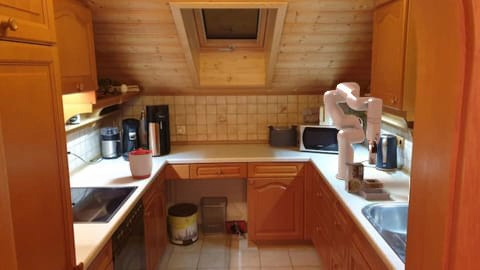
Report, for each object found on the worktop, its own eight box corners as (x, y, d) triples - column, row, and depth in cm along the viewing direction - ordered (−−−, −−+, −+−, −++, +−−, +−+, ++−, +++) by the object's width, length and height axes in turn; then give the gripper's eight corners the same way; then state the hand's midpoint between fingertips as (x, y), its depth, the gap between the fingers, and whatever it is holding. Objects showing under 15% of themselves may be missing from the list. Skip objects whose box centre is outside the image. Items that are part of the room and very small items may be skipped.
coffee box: (359, 189, 220) (360, 162, 218) (363, 192, 214) (364, 164, 212) (344, 189, 220) (344, 162, 218) (347, 192, 214) (348, 165, 211)
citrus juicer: (130, 174, 263) (129, 145, 260) (155, 173, 264) (154, 145, 260) (124, 180, 248) (122, 150, 245) (150, 179, 248) (149, 149, 245)
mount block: (361, 187, 223) (361, 179, 223) (376, 187, 224) (376, 178, 223) (366, 192, 214) (367, 183, 214) (382, 191, 215) (382, 183, 214)
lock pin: (367, 163, 219) (368, 141, 217) (374, 163, 219) (375, 141, 217) (370, 164, 215) (371, 142, 213) (376, 164, 215) (378, 142, 213)
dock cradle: (359, 194, 211) (359, 188, 211) (382, 193, 212) (382, 188, 211) (365, 199, 201) (365, 194, 201) (389, 199, 202) (389, 193, 201)
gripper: (362, 118, 221) (361, 149, 224) (373, 122, 204) (371, 155, 208) (375, 118, 221) (373, 149, 224) (387, 122, 205) (385, 155, 208)
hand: (372, 151), depth 216 cm, fingers closed on lock pin, 4 cm apart
